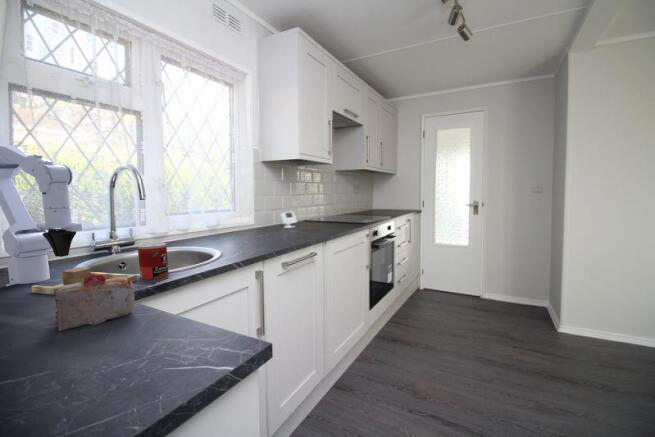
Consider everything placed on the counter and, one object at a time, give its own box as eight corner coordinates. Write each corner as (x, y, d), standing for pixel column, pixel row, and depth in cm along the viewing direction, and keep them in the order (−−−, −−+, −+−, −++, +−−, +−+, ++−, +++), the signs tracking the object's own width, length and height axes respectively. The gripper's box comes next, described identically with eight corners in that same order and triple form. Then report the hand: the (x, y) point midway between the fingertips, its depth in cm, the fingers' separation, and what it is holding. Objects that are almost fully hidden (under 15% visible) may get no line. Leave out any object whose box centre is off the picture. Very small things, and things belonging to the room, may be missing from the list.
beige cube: (63, 287, 88) (62, 271, 88) (80, 282, 93) (78, 267, 92) (75, 288, 87) (74, 272, 87) (91, 283, 92) (90, 268, 91)
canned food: (157, 283, 94) (154, 247, 93) (134, 282, 96) (131, 246, 95) (174, 276, 102) (172, 242, 101) (152, 275, 103) (150, 242, 102)
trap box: (32, 296, 85) (31, 286, 84) (88, 280, 99) (87, 271, 99) (86, 302, 79) (85, 291, 79) (137, 284, 94) (136, 275, 94)
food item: (130, 306, 76) (127, 266, 75) (137, 316, 70) (134, 272, 69) (56, 323, 67) (51, 277, 66) (57, 335, 61) (52, 286, 60)
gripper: (22, 209, 87) (27, 257, 89) (60, 209, 83) (66, 260, 85) (50, 207, 94) (55, 252, 95) (87, 207, 90) (91, 254, 92)
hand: (62, 255), depth 91 cm, fingers closed
